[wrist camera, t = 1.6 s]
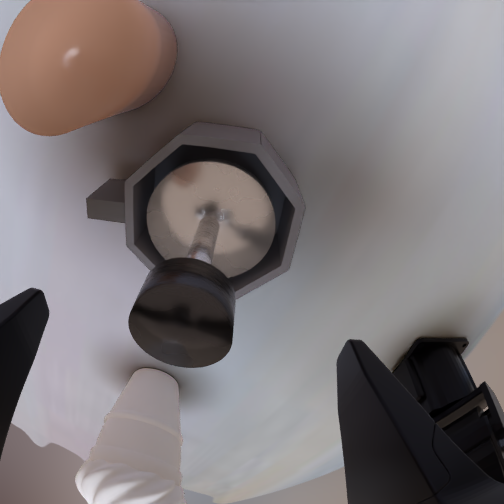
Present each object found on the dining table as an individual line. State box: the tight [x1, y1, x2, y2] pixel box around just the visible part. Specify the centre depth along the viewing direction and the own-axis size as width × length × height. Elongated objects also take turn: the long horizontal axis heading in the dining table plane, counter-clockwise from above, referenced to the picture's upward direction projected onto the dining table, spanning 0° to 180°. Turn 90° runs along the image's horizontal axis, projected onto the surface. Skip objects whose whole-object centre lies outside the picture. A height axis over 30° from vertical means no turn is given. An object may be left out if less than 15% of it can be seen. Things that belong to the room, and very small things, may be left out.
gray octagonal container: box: [86, 122, 306, 299], centre depth 14 cm, size 10×8×4 cm
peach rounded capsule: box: [0, 0, 177, 136], centre depth 10 cm, size 6×6×6 cm
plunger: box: [128, 158, 275, 368], centre depth 11 cm, size 6×6×7 cm
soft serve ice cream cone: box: [75, 368, 187, 504], centre depth 18 cm, size 8×8×16 cm
